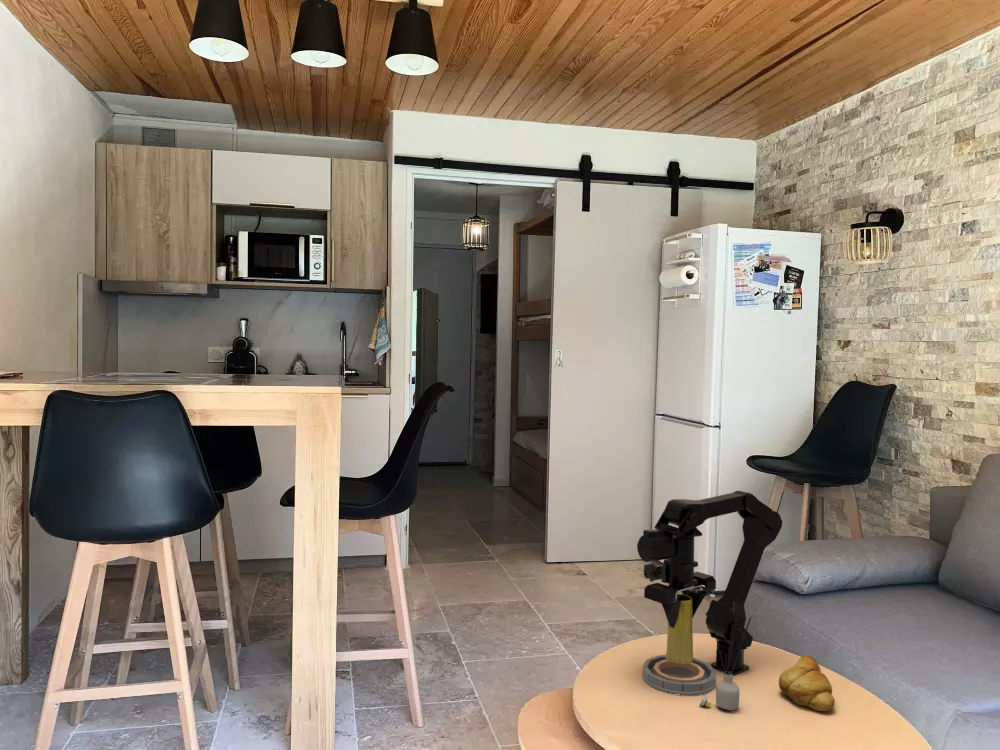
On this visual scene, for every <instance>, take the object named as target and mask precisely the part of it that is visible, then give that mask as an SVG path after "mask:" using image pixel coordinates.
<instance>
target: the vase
mask: <svg viewBox="0 0 1000 750" xmlns="http://www.w3.org/2000/svg"><path fill="white" fill-rule="evenodd" d="M677 599H678V600H681V605H680V609H679V613H678V617H677V621H676V624H675V627H674V628H672V627H670V626H669V623H668V622H667V636H666V638H667V639H666V651H665V652H666V653H665V655H666V659H667V660H668V661H670V662H672V663H675V664H682V665H684V664H690V663H692V662H693V660H694V659H693V658H694V638H693V636H694V635H693V631H694V630H693V618H692V597H690V596H688V595H685V594H682V593H677Z"/></svg>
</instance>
